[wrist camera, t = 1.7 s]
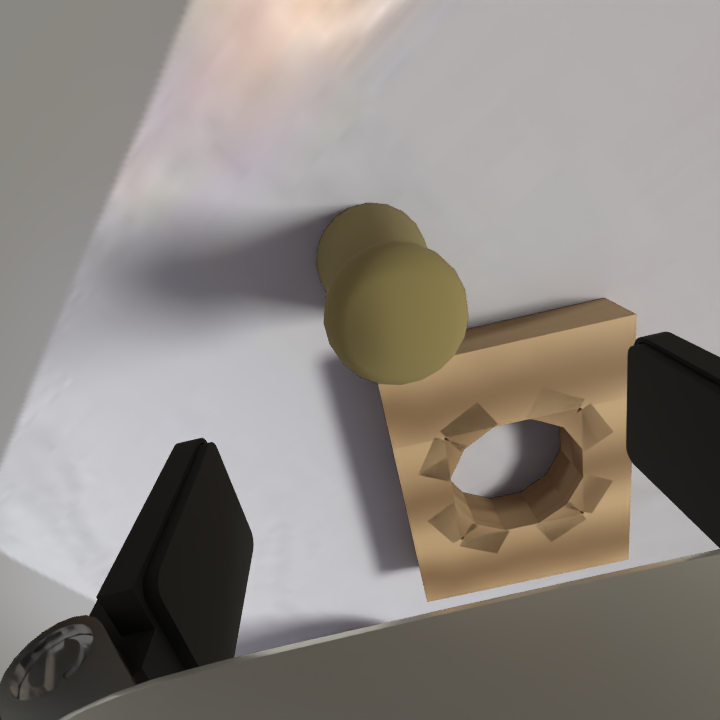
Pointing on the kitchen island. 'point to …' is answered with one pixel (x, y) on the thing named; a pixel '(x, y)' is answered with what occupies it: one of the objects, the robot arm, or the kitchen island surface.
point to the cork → (388, 296)
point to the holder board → (508, 405)
